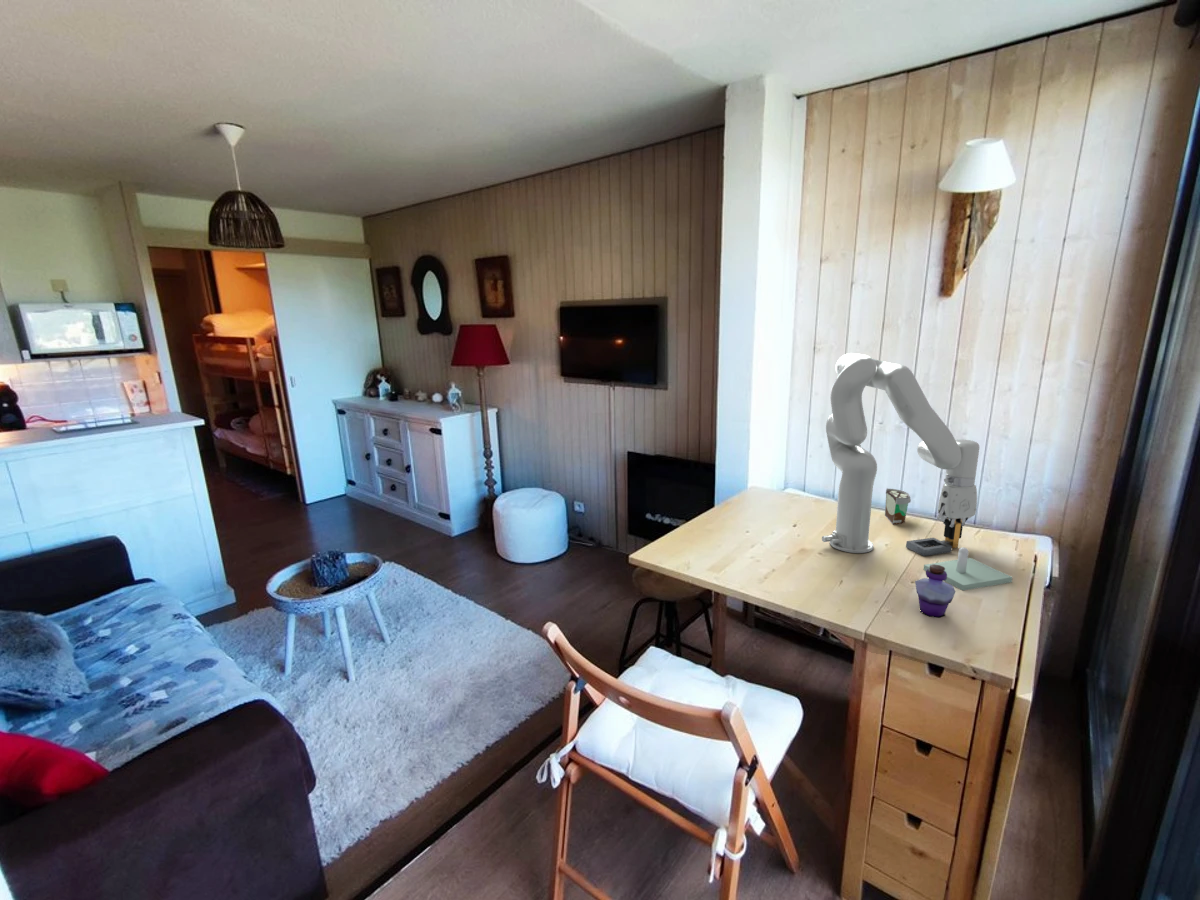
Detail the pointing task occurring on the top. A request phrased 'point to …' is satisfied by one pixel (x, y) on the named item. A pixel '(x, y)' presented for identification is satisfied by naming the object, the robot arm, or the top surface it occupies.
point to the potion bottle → (934, 592)
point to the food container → (896, 506)
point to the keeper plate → (970, 572)
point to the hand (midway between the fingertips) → (952, 536)
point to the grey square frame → (935, 544)
